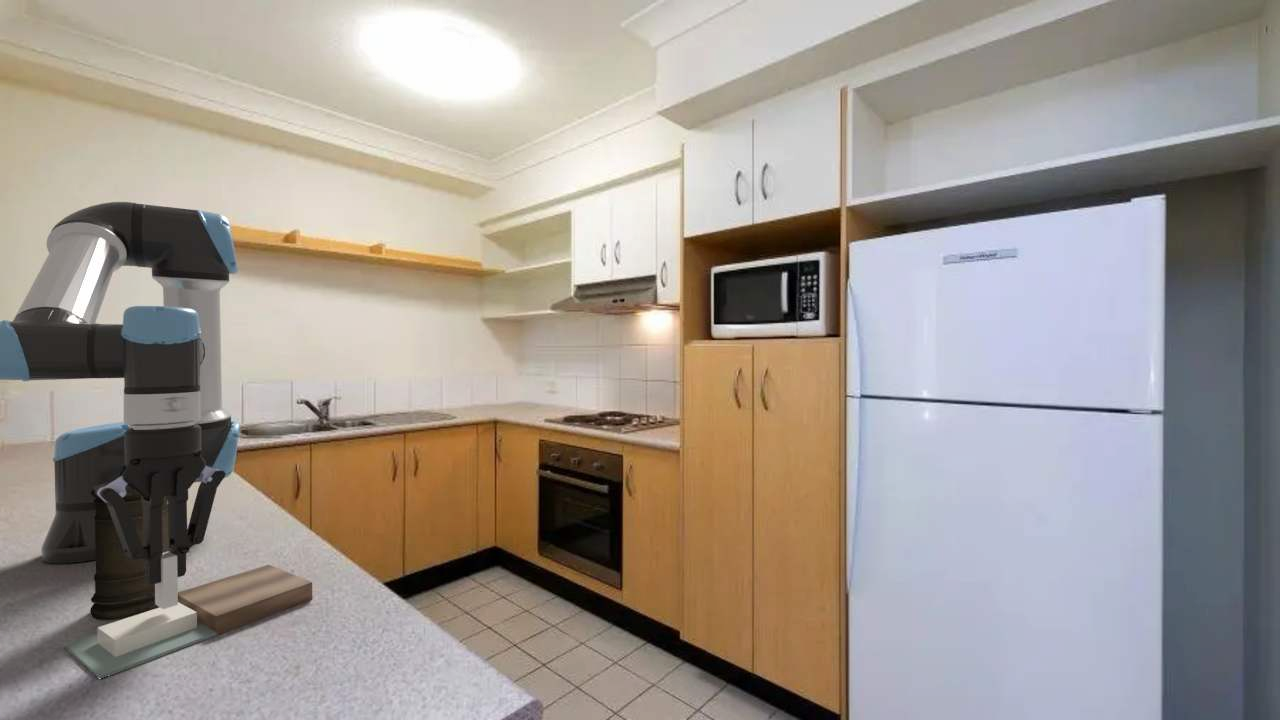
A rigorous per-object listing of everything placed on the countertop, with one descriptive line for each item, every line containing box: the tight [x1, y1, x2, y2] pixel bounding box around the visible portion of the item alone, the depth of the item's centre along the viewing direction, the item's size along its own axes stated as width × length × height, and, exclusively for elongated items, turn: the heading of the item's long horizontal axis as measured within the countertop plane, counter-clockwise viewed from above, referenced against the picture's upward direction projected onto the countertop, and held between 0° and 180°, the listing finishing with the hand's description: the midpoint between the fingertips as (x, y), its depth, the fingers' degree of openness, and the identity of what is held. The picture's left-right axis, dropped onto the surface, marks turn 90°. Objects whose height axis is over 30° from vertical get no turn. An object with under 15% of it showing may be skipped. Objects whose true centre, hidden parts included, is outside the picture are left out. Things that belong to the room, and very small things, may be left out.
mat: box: [63, 621, 217, 679], centre depth 68 cm, size 13×11×1 cm
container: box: [89, 482, 170, 621], centre depth 78 cm, size 9×9×18 cm
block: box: [97, 602, 197, 657], centre depth 69 cm, size 6×8×2 cm
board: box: [178, 564, 313, 636], centre depth 78 cm, size 13×12×2 cm
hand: (166, 604), depth 70 cm, fingers closed
